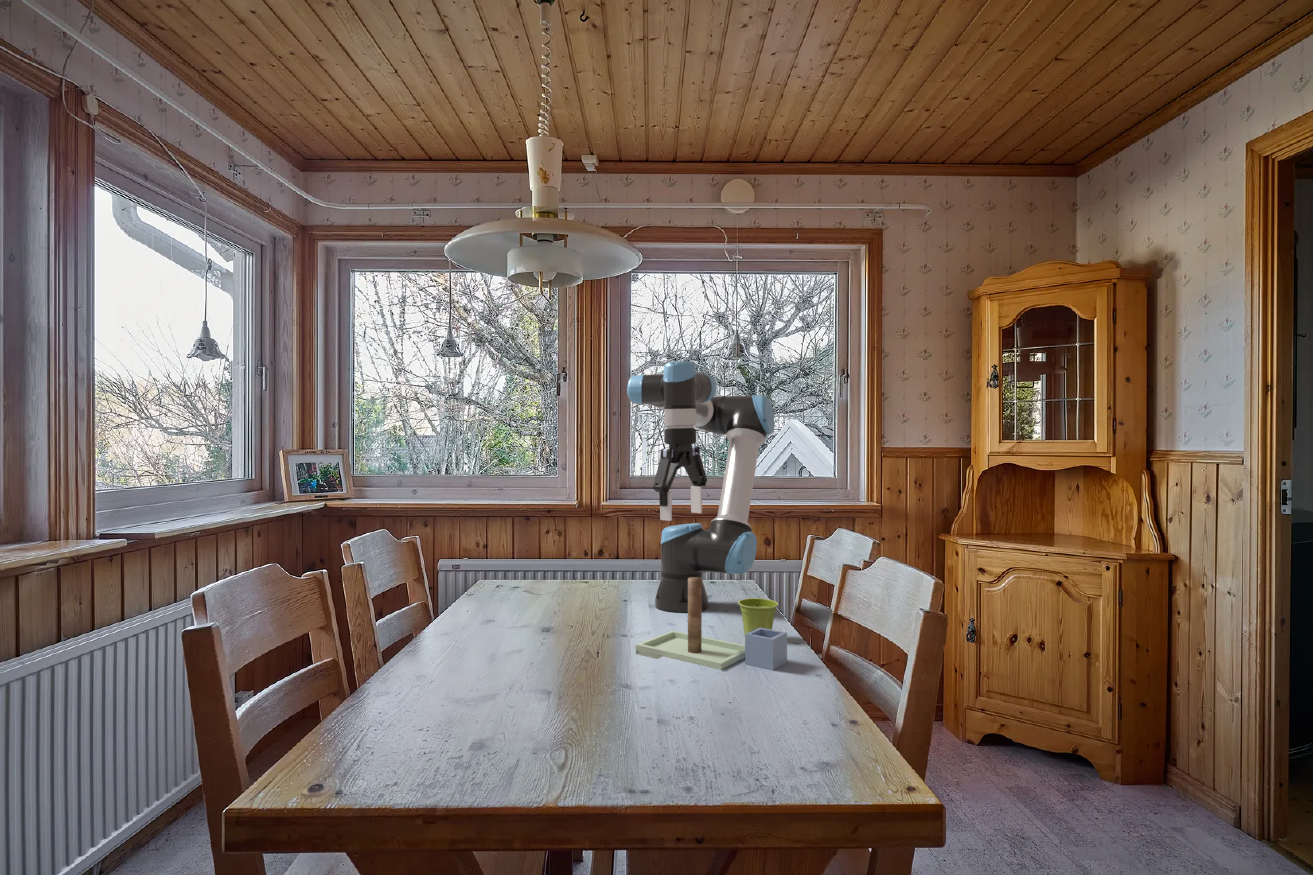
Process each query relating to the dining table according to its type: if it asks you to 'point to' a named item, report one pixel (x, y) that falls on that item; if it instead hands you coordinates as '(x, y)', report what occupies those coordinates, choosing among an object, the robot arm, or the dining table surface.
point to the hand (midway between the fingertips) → (681, 516)
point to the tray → (677, 648)
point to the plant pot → (757, 613)
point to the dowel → (694, 615)
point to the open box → (766, 648)
